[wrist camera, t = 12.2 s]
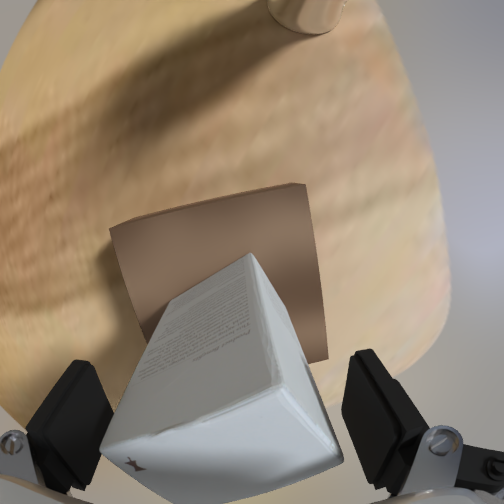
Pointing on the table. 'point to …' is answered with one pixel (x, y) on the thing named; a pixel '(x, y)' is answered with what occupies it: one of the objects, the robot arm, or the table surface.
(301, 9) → the beer glass
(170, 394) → the skincare box
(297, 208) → the walnut block
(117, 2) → the table surface
